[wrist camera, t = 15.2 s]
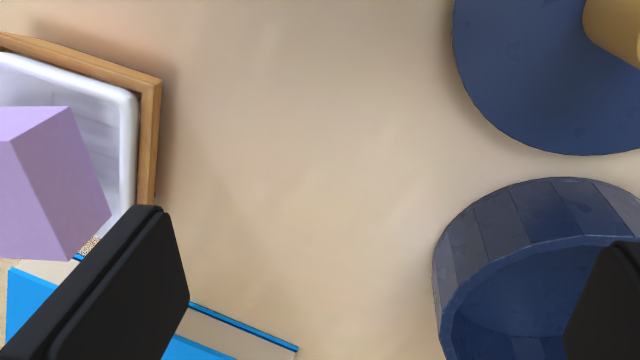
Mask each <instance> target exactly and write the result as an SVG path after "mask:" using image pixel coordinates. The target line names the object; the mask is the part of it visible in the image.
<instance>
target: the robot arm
mask: <svg viewBox="0 0 640 360" xmlns="http://www.w3.org/2000/svg"><path fill="white" fill-rule="evenodd" d="M189 300H190V294H189V289H188V285H187V281H186V277H185V273H184V269H183V265H182V261H181V257H180V254H179V250H178V246H177V242H176V238H175V234H174V230H173V226H172V222H171V218H170V215H169V214H168V213H166V212H164V211H163V209H162V208H161V207H160V206H157V205H144V204H134V205H132V206H131V207H130V208H129V209H128V210H127V211H126V212H125V213H124V214H123V216H122V217H121V218H120V219H119V220H118V221H117V222H116V223H115V224H114V225H113V227H112V228H111V229H110V230H109V231H108V232H107V233H106V234H105V235H104V236H103V238H102V239H101V240H100V241H99V242H98V243H97V244H96V245H95V246H94V247H93V249H92V250H91V251H90V252H89V253H88V254H87V255H86V256H85V257H84V259H83V260H82V261H81V262H80V263H79V264H78V265H77V266H76V267H75V268H74V270H73V271H72V272H71V273H70V274H69V275H68V276H67V277H66V278H65V279H64V281H63V282H62V283H61V284H60V285H59V286H58V287H57V288H56V289H55V290H54V292H53V293H52V294H51V295H50V296H49V297H48V298H47V299H46V300H45V301H44V303H43V304H42V305H41V306H40V307H39V308H38V309H37V310H36V311H35V313H34V314H33V315H32V316H31V317H30V318H29V319H28V320H27V321H26V322H25V324H24V325H23V326H22V327H21V328H20V329H19V330H18V331H17V332H16V333H15V335H14V336H13V337H12V338H11V339H10V340H9V341H8V342H7V343H6V344H5V346H4V347H3V348H2V349H1V350H0V360H161V358H162V356H163V355H164V353H165V351H166V349H167V347H168V345H169V343H170V341H171V339H172V337H173V335H174V333H175V332H176V330H177V328H178V326H179V324H180V322H181V320H182V318H183V316H184V314H185V312H186V310H187V308H188V305H189ZM563 346H564V349H565V352H566V355H567V357H568V360H640V242H634V241H620V240H617V241H614V242H612V243H611V244H610V246H609V247H604V248H602V249H601V251H600V253H599V255H598V257H597V259H596V262H595V264H594V266H593V268H592V270H591V273H590V275H589V277H588V279H587V282H586V284H585V286H584V288H583V291H582V293H581V295H580V297H579V299H578V302H577V304H576V306H575V308H574V311H573V313H572V315H571V317H570V319H569V322H568V324H567V326H566V328H565V331H564V334H563Z"/></svg>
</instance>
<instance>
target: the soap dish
mask: <svg viewBox="0 0 640 360" xmlns="http://www.w3.org/2000/svg"><path fill="white" fill-rule="evenodd" d="M161 95H162V80H161V79H159V78H156V77H153V76H150V75H147V74H145V73H142V72H139V71H136V70H133V69H130V68H127V67H124V66H121V65H118V64H115V63H112V62H109V61H106V60H103V59H100V58H97V57H94V56H91V55H88V54H85V53H82V52H79V51H76V50H73V49H70V48H67V47H64V46H61V45H58V44H55V43H52V42H49V41H46V40H42V39H37V38H31V37H26V36H20V35H15V34H10V33H3V32H0V106H70V108H71V111H72V113H73V116H74V118H75V121H76V124H77V126H78V129H79V131H80V134H81V136H82V139H83V142H84V144H85V147H86V149H87V152H88V154H89V157H90V160H91V162H92V165H93V167H94V170H95V172H96V175H97V178H98V180H99V183H100V185H101V188H102V190H103V193H104V195H105V198H106V201H107V203H108V206H109V208H110V211H111V213H112V216H111V218H110V219H109V220H108V221H107V222H106V223H105V224H104V225H103V226H102V227H101V228H100V229H99V230H98V231H97V232H96V233H95V234H94V235H93V236H92V237H94V238H98V239H102V238H103V236H104V235H105V234H106V233H107V232H108V231H109V230H110V229H111V228H112V227H113V225H114V224H115V223H116V222H117V221H118V220H119V219H120V218H121V217H122V216H123V214H124V213H125V212H126V211H127V210H128V209H129V208H130V207H131V206H132V205H134V204H144V205H153V201H154V197H155V192H154V189H155V176H156V163H157V149H158V136H159V122H160V109H161Z"/></svg>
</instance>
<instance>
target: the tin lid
mask: <svg viewBox="0 0 640 360" xmlns="http://www.w3.org/2000/svg"><path fill="white" fill-rule="evenodd" d="M451 34H452V45H453V53H454V58H455V62H456V66H457V70H458V73H459V75H460V78H461V80H462V83H463V85H464V87H465V90H466V91H467V93H468V95H469V96H470V98H471V100H472V101H473V103H474V105H475V106H476V107H477V108H478V109H479V111H480V112H481V113H482V114H483V116H484V117H485V118H486V119H487V120H488V121H490V122H491V123H492V124H493V125H494V126H495V127H496V128H497V129H499V130H500V131H502V132H503V133H505V134H506V135H508V136H510V137H511V138H513V139H515V140H517V141H519V142H521V143H523V144H526V145H528V146H531V147H534V148H537V149H540V150H543V151H548V152H553V153H558V154H564V155H579V156H589V155H606V154H613V153H620V152H626V151H630V150H634V149H638V148H640V0H454V3H453V9H452V29H451Z"/></svg>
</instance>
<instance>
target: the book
mask: <svg viewBox="0 0 640 360" xmlns="http://www.w3.org/2000/svg"><path fill="white" fill-rule="evenodd" d="M83 259H84V257H83V256H81V255H78V254H75V255H74V256H73V257H72V259H71V260H70V261H68V262H63V261H46V260H29V259H23V260H22V261H21V262H20V263H19V264H18V265H17V266H16V267H15V268H14V267H12V268H11V269H9V270H8V286H7V314H6V341H5V344H6V343H7V342H8V341H9V340H10V339H11V338H12V337H13V336H14V335H15V333H16V332H17V331H18V330H19V329H20V328H21V327H22V326H23V325H24V324H25V322H26V321H27V320H28V319H29V318H30V317H31V316H32V315H33V314H34V313H35V311H36V310H37V309H38V308H39V307H40V306H41V305H42V304H43V303H44V301H45V300H46V299H47V298H48V297H49V296H50V295H51V294H52V293H53V292H54V290H55V289H56V288H57V287H58V286H59V285H60V284H61V283H62V282H63V281H64V279H65V278H66V277H67V276H68V275H69V274H70V273H71V272H72V271H73V270H74V268H75V267H76V266H77V265H78V264H79V263H80V262H81V261H82V260H83ZM297 351H298V347H296V346H294V345H291V344H289V343H287V342H284V341H282V340H279V339H277V338H275V337H272V336H270V335H268V334H265V333H263V332H260V331H258V330H256V329H253V328H251V327H249V326H246V325H244V324H242V323H239V322H237V321H234V320H232V319H230V318H227V317H225V316H223V315H220V314H218V313H216V312H213V311H211V310H208V309H206V308H204V307H201V306H199V305H197V304H194V303H192V302H189V305H188V308H187V310H186V312H185V314H184V316H183V318H182V320H181V322H180V324H179V326H178V328H177V330H176V332H175V333H174V335H173V337H172V339H171V341H170V343H169V345H168V347H167V349H166V351H165V353H164V355H163V356H162V358H161V360H294V358H295V354H296V352H297Z"/></svg>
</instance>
